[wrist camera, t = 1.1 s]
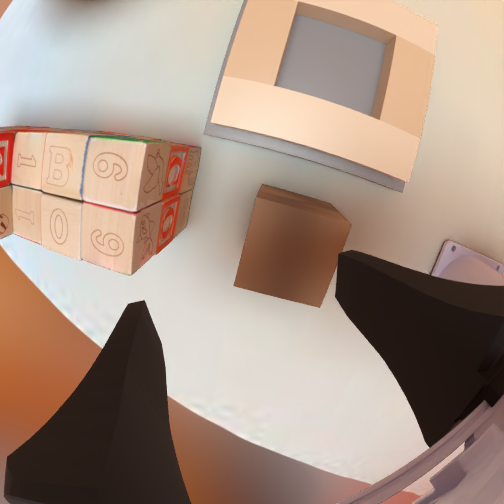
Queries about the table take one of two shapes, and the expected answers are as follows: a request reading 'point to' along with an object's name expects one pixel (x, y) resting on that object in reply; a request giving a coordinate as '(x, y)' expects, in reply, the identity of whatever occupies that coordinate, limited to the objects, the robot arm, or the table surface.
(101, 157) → the stack of blocks
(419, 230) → the table surface
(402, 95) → the puzzle board
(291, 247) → the walnut block
